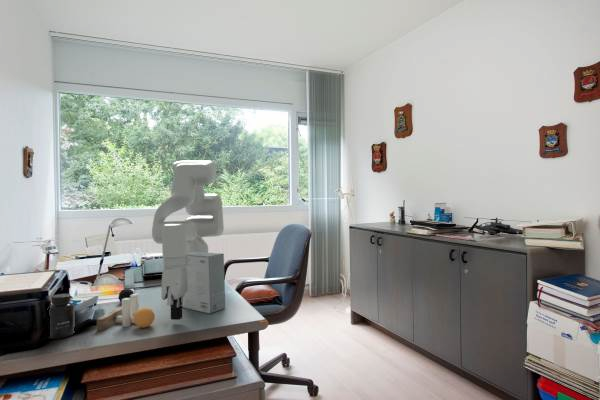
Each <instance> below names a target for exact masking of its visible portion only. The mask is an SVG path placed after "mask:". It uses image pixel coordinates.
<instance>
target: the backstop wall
mask: <svg viewBox="0 0 600 400" xmlns="http://www.w3.org/2000/svg"><path fill="white" fill-rule="evenodd" d="M117 316H122V305H121V306H119V307H117V308H115V309H113V310H111V311H109V312H108V313H105V314H104V315H102V316H100V317H98V318H96V331H101V332H102V331H105V330H106V329H108V328H110V327H111V326H114V325H115V324H117V323H116V322H115V319H116V317H117Z"/></svg>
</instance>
